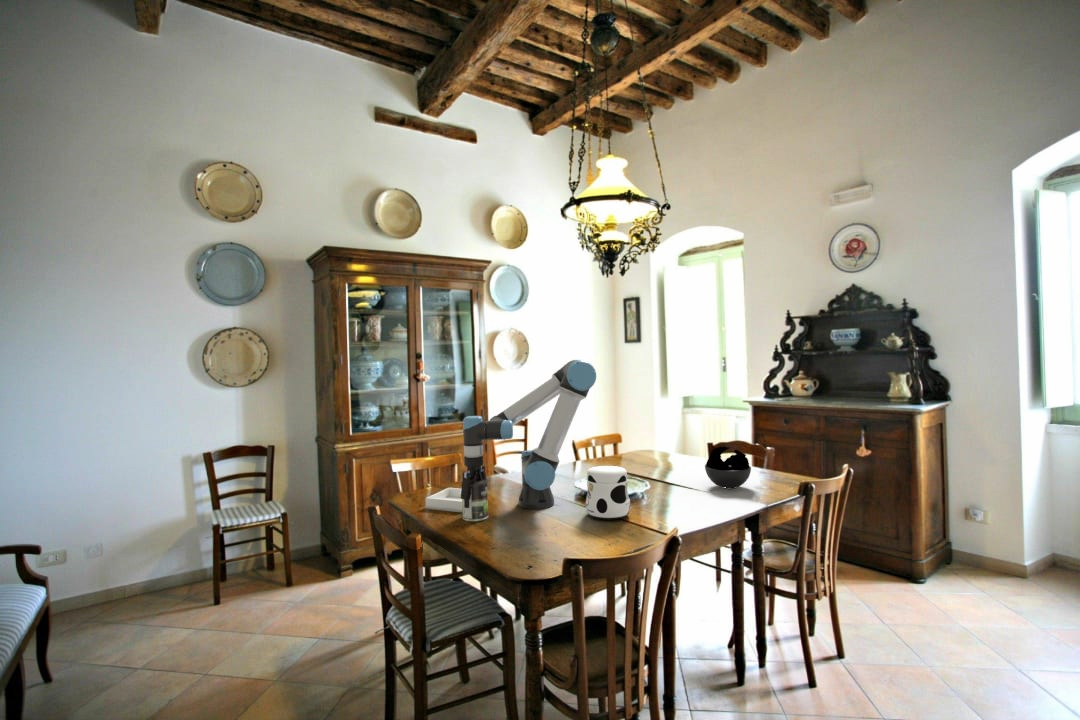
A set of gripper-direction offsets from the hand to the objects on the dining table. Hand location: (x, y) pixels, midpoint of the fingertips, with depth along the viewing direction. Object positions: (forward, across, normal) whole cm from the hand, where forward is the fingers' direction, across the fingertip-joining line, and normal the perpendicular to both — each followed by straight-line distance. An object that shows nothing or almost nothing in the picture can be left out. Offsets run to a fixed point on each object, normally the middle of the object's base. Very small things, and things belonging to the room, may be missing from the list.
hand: (475, 511), depth 212 cm
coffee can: (+3, 0, 0) cm, 3 cm away
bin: (+2, -13, -17) cm, 22 cm away
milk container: (+3, -18, +49) cm, 52 cm away
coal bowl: (+2, -75, +90) cm, 117 cm away
